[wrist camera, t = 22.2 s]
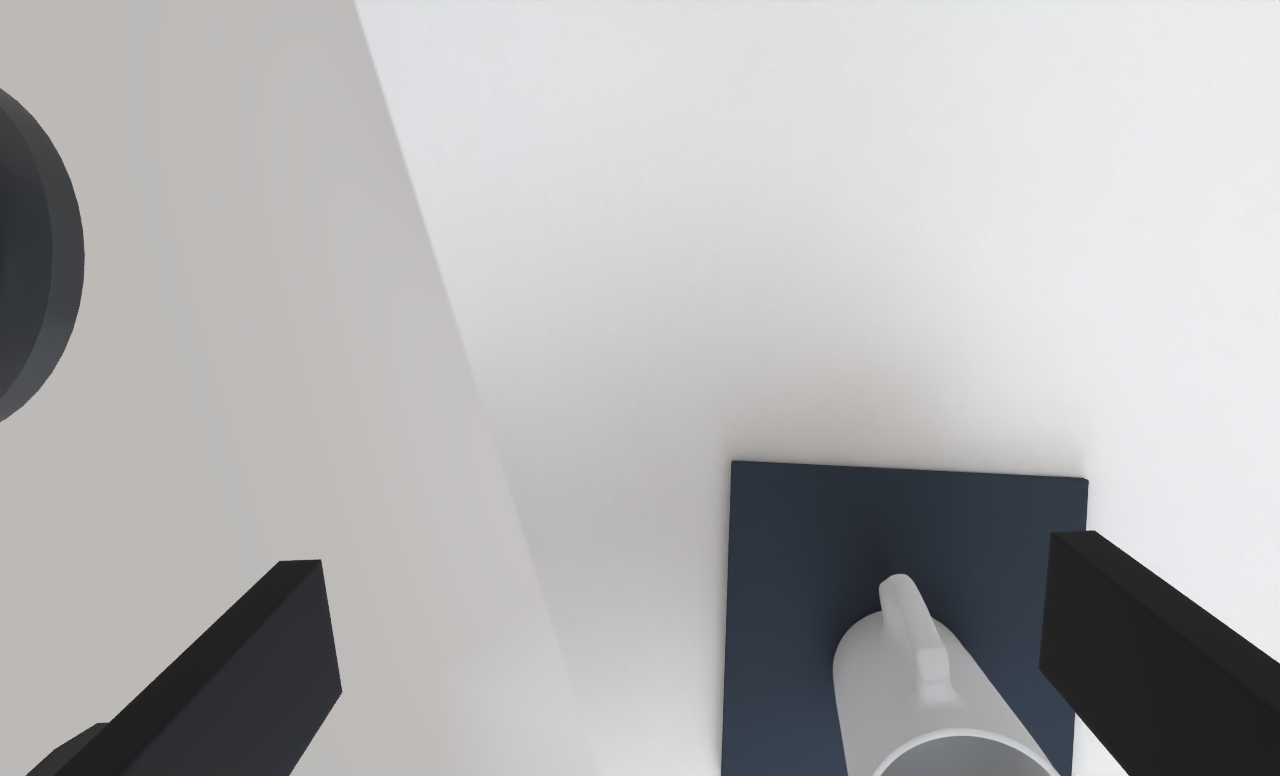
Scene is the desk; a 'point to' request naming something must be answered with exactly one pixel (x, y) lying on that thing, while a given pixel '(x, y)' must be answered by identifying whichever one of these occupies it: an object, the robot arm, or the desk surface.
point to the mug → (922, 699)
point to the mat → (849, 590)
